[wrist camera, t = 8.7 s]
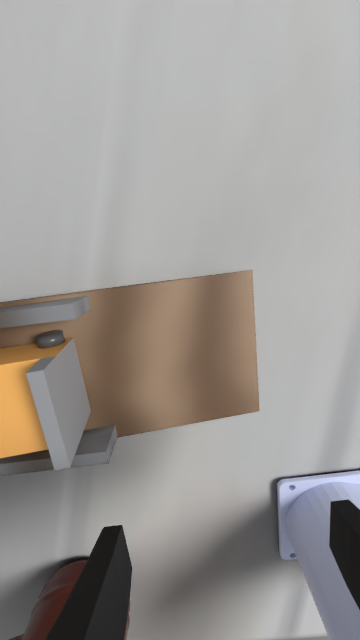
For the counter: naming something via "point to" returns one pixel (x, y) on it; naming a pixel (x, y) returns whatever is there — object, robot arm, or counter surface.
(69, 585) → the mug
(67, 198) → the counter surface
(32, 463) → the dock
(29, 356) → the orange block with knobs
